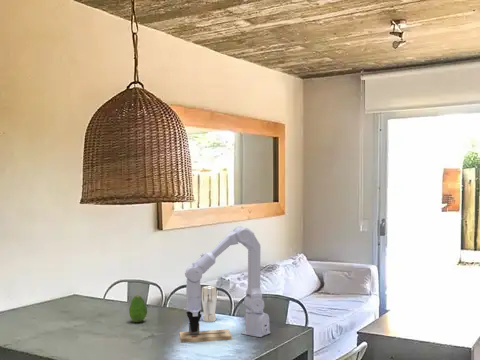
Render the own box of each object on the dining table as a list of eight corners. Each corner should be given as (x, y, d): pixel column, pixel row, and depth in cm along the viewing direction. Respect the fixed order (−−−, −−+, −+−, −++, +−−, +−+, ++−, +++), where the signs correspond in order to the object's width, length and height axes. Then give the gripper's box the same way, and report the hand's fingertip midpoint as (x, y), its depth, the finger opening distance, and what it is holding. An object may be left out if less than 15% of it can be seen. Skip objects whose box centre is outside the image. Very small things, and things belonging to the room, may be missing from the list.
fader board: (228, 333, 225) (228, 329, 225) (231, 339, 215) (231, 335, 215) (179, 335, 222) (179, 331, 222) (180, 342, 212) (180, 338, 212)
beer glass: (198, 321, 247) (198, 287, 247) (206, 317, 253) (206, 285, 253) (212, 322, 243) (211, 289, 244) (219, 319, 250) (219, 286, 250)
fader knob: (198, 332, 220) (198, 322, 220) (199, 334, 217) (199, 323, 217) (188, 333, 219) (188, 322, 219) (189, 334, 216) (189, 324, 216)
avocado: (126, 323, 243) (126, 296, 244) (133, 319, 251) (133, 293, 251) (143, 324, 242) (142, 297, 242) (150, 320, 249) (149, 294, 249)
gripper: (182, 293, 225) (182, 326, 224) (184, 300, 210) (185, 335, 210) (199, 292, 226) (199, 325, 226) (203, 299, 212) (203, 334, 211)
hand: (193, 330), depth 218 cm, fingers closed on fader knob, 2 cm apart
